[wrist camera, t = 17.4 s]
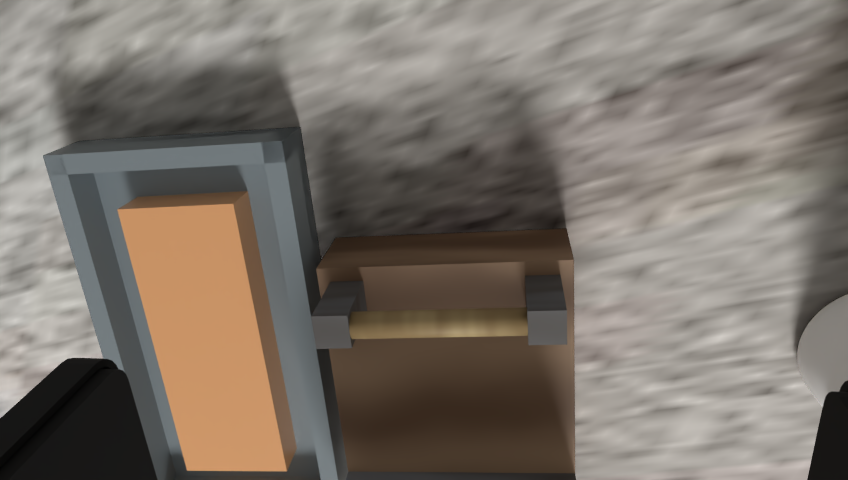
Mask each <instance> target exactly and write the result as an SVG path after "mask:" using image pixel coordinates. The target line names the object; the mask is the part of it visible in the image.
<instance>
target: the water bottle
mask: <svg viewBox="0 0 848 480" xmlns="http://www.w3.org/2000/svg"><path fill="white" fill-rule="evenodd" d="M797 363H798V368H799V371H800V375H801V377H802V379H803V381H804V383H805V384H806V386H807V387H808V389H809V390H810V392H811V393H812V394H813V396H814V397H815V398H816V400H817V401H818V402H819V403H820V405H821V406H822V407H823V404H824V400H825V397H826V395H827V394H828V393H829V392H832V391H835V392H839V391H840V388H841V386H842V385H843V383H844V382H845V381H848V294H847V295H844V296H842V297H840V298H838V299H836V300H834V301H833V302H831V303H830V304H828V305H827V306H825V307H824V308H823V309H822V310H820V311H819V312H818V313H817V314H816V315H815V316H814V317H813V318H812V320H811V321H810V322H809V323H808V325H807V327H806V328H805V330H804V332H803V334H802V336H801V338H800V341H799V345H798V351H797Z"/></svg>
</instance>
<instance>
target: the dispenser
mask: <svg viewBox="0 0 848 480" xmlns="http://www.w3.org/2000/svg"><path fill="white" fill-rule="evenodd" d="M316 271H317V277H318V283H319V290H320V296H321V299H320V301H319V303H318V305H317V307H316V308H315V310H314V312H313V314H312V316H311V320H312V326H313V332H314V338H315V344H316V349H329V353H330V359H331V366H332V372H333V378H334V385H335V391H336V397H337V404H338V410H339V416H340V423H341V429H342V435H343V442H344V448H345V455H346V461H347V467H348V474H347V477H346V480H576V477H575V384H574V259H573V254H572V250H571V246H570V242H569V237H568V233H567V229H541V230H516V231H491V232H466V233H442V234H417V235H392V236H367V237H342V238H335V240H334V241H333V243H332V244H331V246H330V248H329V249H328V251H327V252H326V254H325V256H324V257H323V259H322V260H321V262H320V263H319V265H318V267H317V268H316Z"/></svg>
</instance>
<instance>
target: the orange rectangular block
mask: <svg viewBox="0 0 848 480" xmlns="http://www.w3.org/2000/svg"><path fill="white" fill-rule="evenodd" d="M117 211H118V214H119V218H120V222H121V226H122V229H123V233H124V237H125V241H126V244H127V248H128V252H129V255H130V259H131V263H132V267H133V270H134V274H135V278H136V282H137V285H138V289H139V293H140V297H141V300H142V304H143V308H144V312H145V315H146V319H147V323H148V327H149V330H150V334H151V338H152V342H153V345H154V349H155V353H156V356H157V360H158V364H159V368H160V371H161V375H162V379H163V383H164V386H165V390H166V394H167V398H168V401H169V405H170V409H171V413H172V416H173V420H174V424H175V428H176V431H177V435H178V439H179V443H180V446H181V450H182V454H183V457H184V461H185V465H186V469H187V471H287V470H288V468H289V465H290V463H291V461H292V459H293V456H294V454H295V452H296V449H297V446H296V441H295V435H294V430H293V425H292V420H291V414H290V409H289V404H288V399H287V393H286V388H285V383H284V378H283V372H282V367H281V362H280V357H279V351H278V346H277V341H276V336H275V331H274V325H273V320H272V315H271V310H270V304H269V299H268V294H267V289H266V283H265V278H264V273H263V268H262V262H261V257H260V252H259V247H258V241H257V236H256V231H255V226H254V220H253V215H252V210H251V205H250V199H249V194H248V191H240V192H221V193H202V194H183V195H163V196H144V197H137V198H135V199H133V200H132V201H130V202H129V203H127V204H125V205H124V206H122V207H120V208H119V209H117Z"/></svg>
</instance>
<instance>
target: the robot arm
mask: <svg viewBox="0 0 848 480" xmlns="http://www.w3.org/2000/svg"><path fill="white" fill-rule="evenodd" d="M0 480H158V479H157V476H156V472H155V469H154V466H153V462H152V459H151V455H150V452H149V448H148V445H147V441H146V438H145V435H144V431H143V428H142V424H141V421H140V417H139V414H138V410H137V407H136V404H135V400H134V397H133V393H132V390H131V386H130V383H129V379H128V377H127V375H126V373H125V372H124V371H123V370H120V369H118V367H117V365H116V364H115V363H114V362H113V361H112V360H109V359H94V358H71V359H67V360H65V361H64V362H62V363H61V364H60V365H59V366H58V367H57V368H55V369H54V370H53V371H52V372H51V373H50V374H49V375H48V376H47V377H46V378H44V379H43V380H42V381H41V382H40V383H39V384H38V385H37V386H36V387H34V388H33V389H32V390H31V391H30V392H29V393H28V394H27V395H26V396H25V397H23V398H22V399H21V400H20V401H19V402H18V403H17V404H16V405H15V406H14V407H12V408H11V409H10V410H9V411H8V412H7V413H6V414H5V415H4V416H3V417H1V418H0ZM808 480H848V381H845V382H844V383H843V385H842V386H841V388H840V391H839V392H835V391H832V392H829V393H828V394H827V395H826V397H825V400H824V404H823V408H822V413H821V418H820V423H819V427H818V432H817V437H816V442H815V446H814V451H813V456H812V461H811V465H810V470H809V475H808Z"/></svg>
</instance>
